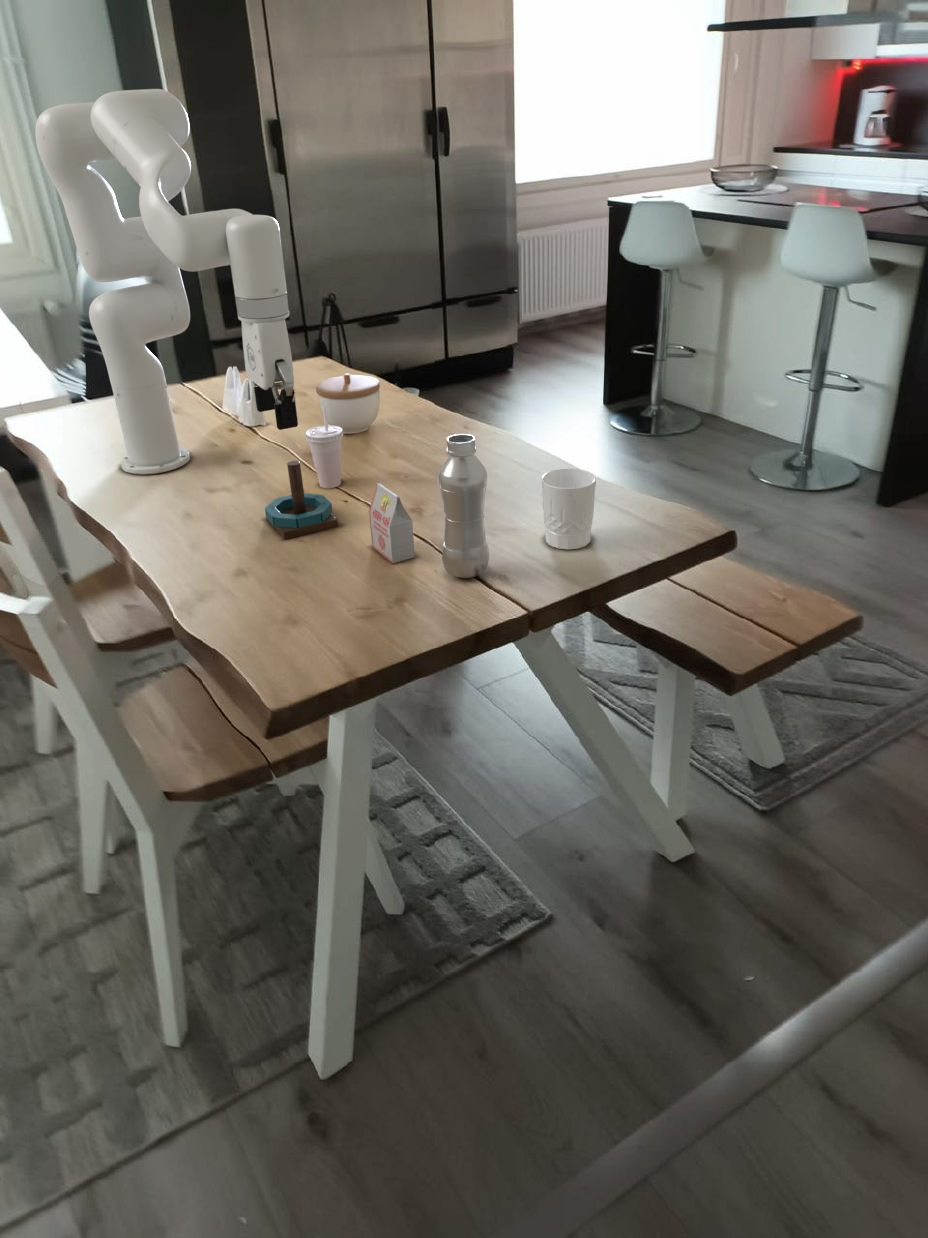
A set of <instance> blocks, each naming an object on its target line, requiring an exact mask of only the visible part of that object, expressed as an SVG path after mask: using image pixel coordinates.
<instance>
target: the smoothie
mask: <svg viewBox="0 0 928 1238" xmlns="http://www.w3.org/2000/svg"><path fill="white" fill-rule="evenodd" d="M323 416H324V417H323ZM322 417H323V424H324V425H318V426H314V427H311V428H309V429H307V430H306V431H305V440H306V441H307V442H308V446H309V450H310V453H311V457H312V461H313V465H314V469H315V473H316V476H317V480H318V485H319V487H320V488H324V489H334V488H337V487H339V486H341V484H342V438H343V437H344V433H343V432H342V429H341V428H340V427H337V426H330V425H329V424H328V422H327V413H326V406H323V415H322Z"/></svg>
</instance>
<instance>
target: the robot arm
mask: <svg viewBox="0 0 928 1238" xmlns="http://www.w3.org/2000/svg"><path fill="white" fill-rule="evenodd" d="M34 131H35V144H36V148H37V152H38V156H39V158H40V160H41V163H42V165H43V167H44V169H45V171H46V173H47V175H48V177H49V179H50V180H51V182H52V184H53V186H55V189H56V191H57V193H58V195H59V197H60V199H61V202H62V205H63V207H64V208H63V209H64V212H65V214H66V218H67V221H68V224H69V228H70V230H71V234H72V237H73V241H74V244H75V247H76V249H77V253H78V256H79V259H80V262H81V264H82V265H81V266H82V267H83V269H84V271H85V273H86V274H87V276H88V277H89V278H90V279H91V280H93V281H95V282H98V283H112V282H118V281H119V282H120V281H123V280H124V281H125V280H129V279H135V278H140V277H143V278H144V280H145V282H146V283H144V284H140V285H139V284H138V285H133V286H127V287H122V288H117V289H113V290H109V291H106V292H104V293H102V294H99V295H98V296H97V297H95V298H94V299H93V300H92V302H91V304H90V305H89V309H88V319H89V323H90V326H91V328H92V331H93V333H94V335H95V338H96V340H97V343H98V345H99V347H100V350H101V354H102V356H103V359H104V361H105V363H104V364H105V365H106V369H107V374H108V377H109V382H110V386H111V390H112V394H113V398H114V403H115V407H116V411H117V416H118V420H119V424H120V429H121V433H122V437H123V442H124V446H125V450H126V455H124V456H123V457H122V458H121V460H120V462H119V463H120V467H121V469H122V470H123V471H124V472H126V473H129V474H133V475H154V474H161V473H165V472H170V471H173V470H177V469H178V468H181V467H183V466H184V465H186V464H187V463H188V462H189V461H190V459H191V456H190V452H189V451H188V449H187V448H184V447H182V446H180V444H179V438H178V434H177V429H176V423H175V419H174V413H173V409H172V403H171V400H170V394H169V389H168V385H167V379H166V374H165V371H164V367H163V365H162V363H161V362H160V360H159V359H158V357H156V356H155V355H154V353H152V352H151V350H150V349H149V348H148V347H147V344H148V343H152V342H155V341H158V340H163V339H166V338H171V337H174V336H177V335H180V334H182V333H184V332H185V331H186V330H187V329H188V328H189V325H190V322H191V310H190V303H189V300H188V296H187V292H186V289H185V285H184V281H183V278H182V273H181V270H182V271H186V272H200V271H205V270H210V269H214V268H215V269H216V268H219V267H226V266H230V271H231V278H232V285H233V292H234V298H235V306H236V311H237V319H238V321H240V322H241V337H242V351H243V358H244V369H245V374H246V376H247V377H248V379H249V380H250V379H251V380H252V381H253V384H254V386H256V387H254V392H255V399H256V406H257V410H258V411H259V412H263V413H264V412H268V411H274V415H275V423H276V428H277V429H278V430H279V431H283V430H287V429H293V428H297V427H298V425H299V421H298V413H297V404H296V396H295V394H296V390H295V389H294V386H295V384H294V383H295V373H294V365H293V357H292V351H291V344H290V339H289V332H288V328H287V323H286V319H287V318H289V317H290V307H289V306H290V305H289V299H288V298H289V297H288V289H287V280H286V271H285V264H284V255H283V247H282V238H281V231H280V225H279V223H278V220H277V219H275V218H274V217H273V216H270V215H265V214H253V213H251V212H249V211H246V210H244V209H241V208H227V209H226V208H225V209H219V210H209V211H204V212H198V213H192V214H185V215H182V214H180V213H179V212H178V211H177V210H176V209H175V208H174V206H173V205H171V203H169V202H170V201H171V200H172V199H174V198H175V197H176V196H177V195H178V194H179V193H180V192H181V191H182V190H183V189H184V188H185V186H187V183H188V182H189V179H190V176H191V172H192V165H191V160H190V157H189V155H188V153H187V152H186V151H185V150H184V149H183V148H182V147H183V146H184V144H185V143H186V142H187V140H188V138H189V135H190V121H189V117H188V113H187V111H186V109H185V107H184V105H183V104H182V102H181V101H180V100H179V99H178V98H177V97H176V96H175V95H174V94H172V93H171V92H170V91H168V90H165V89H161V88H147V89H146V88H145V89H144V88H143V89H126V90H115V91H110V92H107V93H105V94H102V95H101V96H100V97H99V98H97V99H96V100H95V101H94V102H73V103H65V104H59V105H55V106H52V107H49V108H47V109H45V110H44V111H42V112H41V113H40V114H39V115H38V117H37V119H36V122H35V130H34ZM111 161H118V162H119V163H120V164H121V166H122V167H123V168H124V169H125V170H126V172H127V173H128V174H129V175H130V176H131V177H132V179H133V180H134V181H135V182H136V183H137V184H138V185H139V188H140V189H139V197H138V205H139V212H140V213H139V214H140V216H134V217H126V218H123V216H122V214H121V212H120V209H119V205H118V202H117V197H116V194H115V192H114V190H113V188H112V187H111V185H110V184H109V182H108V181H107V180H106V179H105V177H103V176H102V175H101V174H100V172H98V171H97V170H96V169H95V168H94V167H93V166H91V165H90V164H91V163H98V162H111ZM180 269H181V270H180ZM279 390H280V392H279Z"/></svg>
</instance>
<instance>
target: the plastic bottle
mask: <svg viewBox="0 0 928 1238" xmlns="http://www.w3.org/2000/svg"><path fill="white" fill-rule="evenodd" d="M446 446H447V447H446V453H447V455H448V457H447V458H446V460H445V461H444V462H443V464H442V466H441V468H440V471H439V474H438V485H439V488H440V493H441V498H442V503H443V513H444V539H443V540H444V541H443V546H442V554H441V555H442V556H441V560H442V563H443V568H444V569H445V571H446V572H447V573H448V574H449V575H451V576H453V577H456V578H460V579H461V578H463V579H466V578H473V577H477V576H481V575H482V574H483V573H484V572H485V571H486V570H487V568H488V566H489V563H490V551H489V550H490V549H489V545H488V541H487V537H486V536H487V535H486V526H485V513H484V512H485V500H486V499H485V498H486V491H487V483H488V472H487V469H486V467H485V465H484V464H483V463H482V461H481V460H480V459H479V458H478V457H477V456H476V454H475V453H477V446H476V439H475V436H474V435H472V434H466V433H459V434H453V435H450V436H448V437H446Z"/></svg>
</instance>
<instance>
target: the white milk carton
mask: <svg viewBox="0 0 928 1238" xmlns="http://www.w3.org/2000/svg"><path fill="white" fill-rule="evenodd" d="M368 516H369V527H370V538H371V546H372V549H374V550H376V551H377V552H378V553H379V554H380V555H381V556H383V557H384V558H385V559H387V560H388V561H389V562H390V563H391V564H396V563H399V562H402V561H407V560H409V559H412V558H416V552H415V540H414V527H413V520H412V518H411V516H410V515H409V513H408V511H407V510H406V509H405V507H404V505H403V502H402V501H401V497H400V496H399V495H397V494H396V493H394V492H393V491H391V490H390V489H388V488H387V487H386V486H384V485H383V484H381V483H380V482H378V483H377V482H376V483H375V490H374V494H373V497H372V501H371V504H370V506H369V510H368Z"/></svg>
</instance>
